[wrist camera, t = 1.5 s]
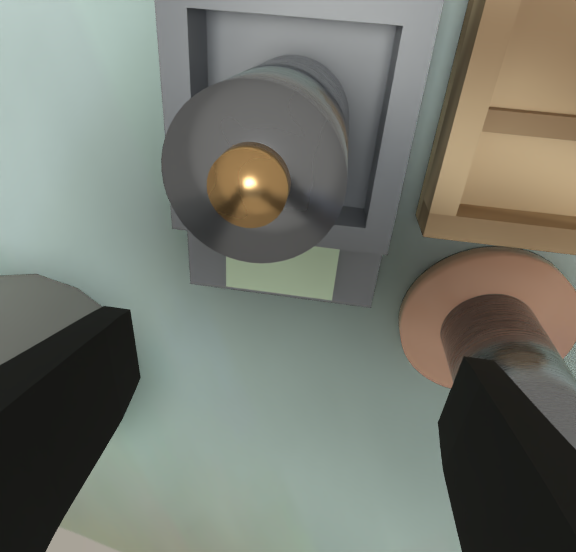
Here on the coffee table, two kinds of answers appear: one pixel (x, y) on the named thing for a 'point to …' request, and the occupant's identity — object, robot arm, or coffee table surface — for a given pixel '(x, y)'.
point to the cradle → (362, 119)
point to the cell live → (261, 160)
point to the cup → (36, 311)
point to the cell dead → (514, 353)
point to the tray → (507, 131)
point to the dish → (474, 282)
